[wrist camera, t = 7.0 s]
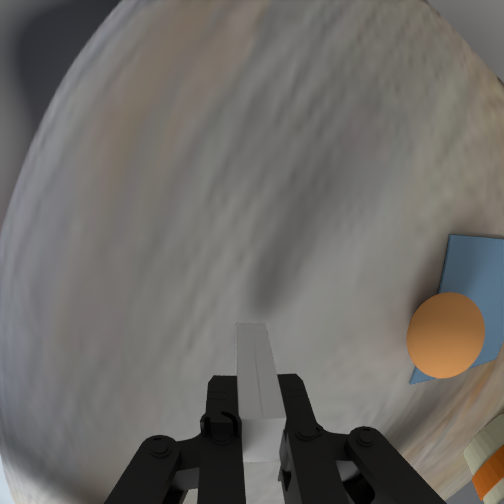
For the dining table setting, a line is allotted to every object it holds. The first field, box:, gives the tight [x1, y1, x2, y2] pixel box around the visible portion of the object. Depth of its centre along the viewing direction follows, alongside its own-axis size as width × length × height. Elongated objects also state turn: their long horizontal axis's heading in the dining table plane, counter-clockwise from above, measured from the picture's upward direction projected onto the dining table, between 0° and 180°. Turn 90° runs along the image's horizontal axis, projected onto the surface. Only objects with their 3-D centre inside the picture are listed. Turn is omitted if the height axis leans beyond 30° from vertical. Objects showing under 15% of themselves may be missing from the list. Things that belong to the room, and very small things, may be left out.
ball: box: [407, 292, 485, 378], centre depth 15 cm, size 6×6×6 cm
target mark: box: [410, 234, 504, 385], centre depth 18 cm, size 12×12×1 cm
